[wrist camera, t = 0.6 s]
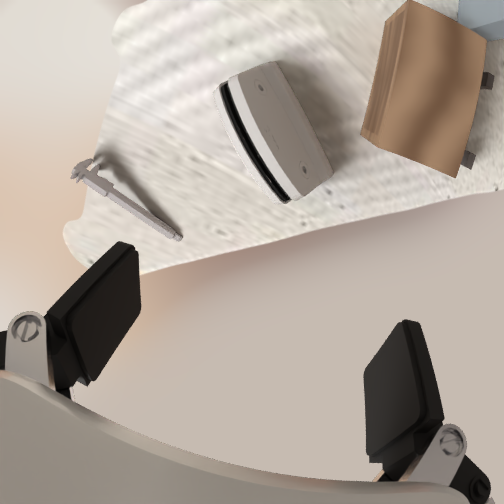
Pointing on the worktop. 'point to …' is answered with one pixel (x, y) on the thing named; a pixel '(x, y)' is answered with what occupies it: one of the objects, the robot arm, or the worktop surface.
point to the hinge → (272, 133)
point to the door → (483, 17)
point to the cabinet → (426, 88)
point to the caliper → (120, 198)
